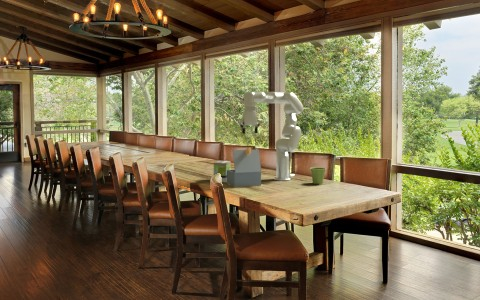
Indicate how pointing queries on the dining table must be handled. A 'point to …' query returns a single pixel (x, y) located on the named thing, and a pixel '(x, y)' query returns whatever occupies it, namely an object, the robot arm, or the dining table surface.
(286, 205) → the dining table surface
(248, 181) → the slate box
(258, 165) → the lid flap
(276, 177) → the robot arm
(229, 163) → the tea box
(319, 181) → the plant pot
